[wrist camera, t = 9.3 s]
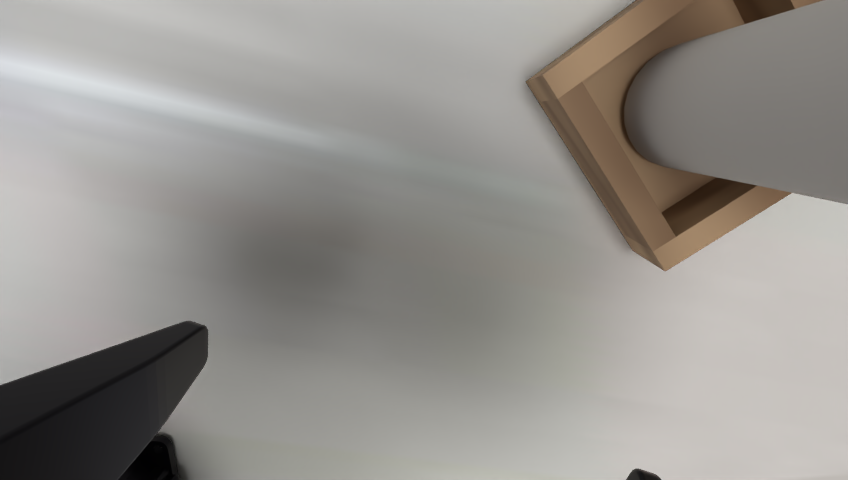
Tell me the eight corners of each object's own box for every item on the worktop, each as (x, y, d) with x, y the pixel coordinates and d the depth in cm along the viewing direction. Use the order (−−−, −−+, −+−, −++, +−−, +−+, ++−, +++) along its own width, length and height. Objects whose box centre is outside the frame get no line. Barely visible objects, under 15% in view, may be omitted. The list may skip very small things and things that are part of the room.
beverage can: (644, 29, 18) (1049, -140, 6) (757, 63, 18) (1349, -38, 6) (600, 150, 19) (869, 197, 7) (707, 180, 19) (1129, 271, 8)
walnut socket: (632, 250, 20) (665, 271, 18) (525, 81, 19) (543, 74, 16) (820, 130, 19) (888, 132, 16) (724, -65, 17) (781, -101, 14)
